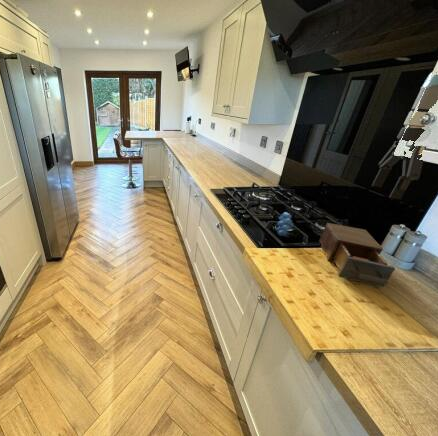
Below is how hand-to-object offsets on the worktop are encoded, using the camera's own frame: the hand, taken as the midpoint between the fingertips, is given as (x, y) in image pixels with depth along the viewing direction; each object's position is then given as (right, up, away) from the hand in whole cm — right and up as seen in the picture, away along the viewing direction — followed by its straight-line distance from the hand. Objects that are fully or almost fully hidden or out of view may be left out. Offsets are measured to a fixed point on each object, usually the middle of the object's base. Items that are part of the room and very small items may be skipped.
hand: (384, 192), depth 82 cm
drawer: (-8, -29, +3) cm, 30 cm away
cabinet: (-3, -24, +15) cm, 29 cm away
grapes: (-21, -18, +27) cm, 38 cm away
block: (-8, -28, +2) cm, 29 cm away
